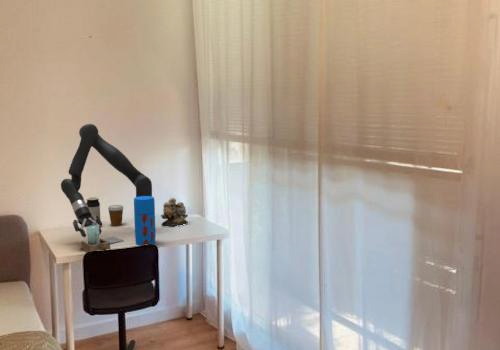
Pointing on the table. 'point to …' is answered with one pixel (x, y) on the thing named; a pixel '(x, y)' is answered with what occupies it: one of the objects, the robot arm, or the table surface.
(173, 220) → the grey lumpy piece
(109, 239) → the mat
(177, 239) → the table surface
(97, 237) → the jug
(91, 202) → the travel mug
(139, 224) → the thermos
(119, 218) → the disposable coffee cup
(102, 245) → the cradle
